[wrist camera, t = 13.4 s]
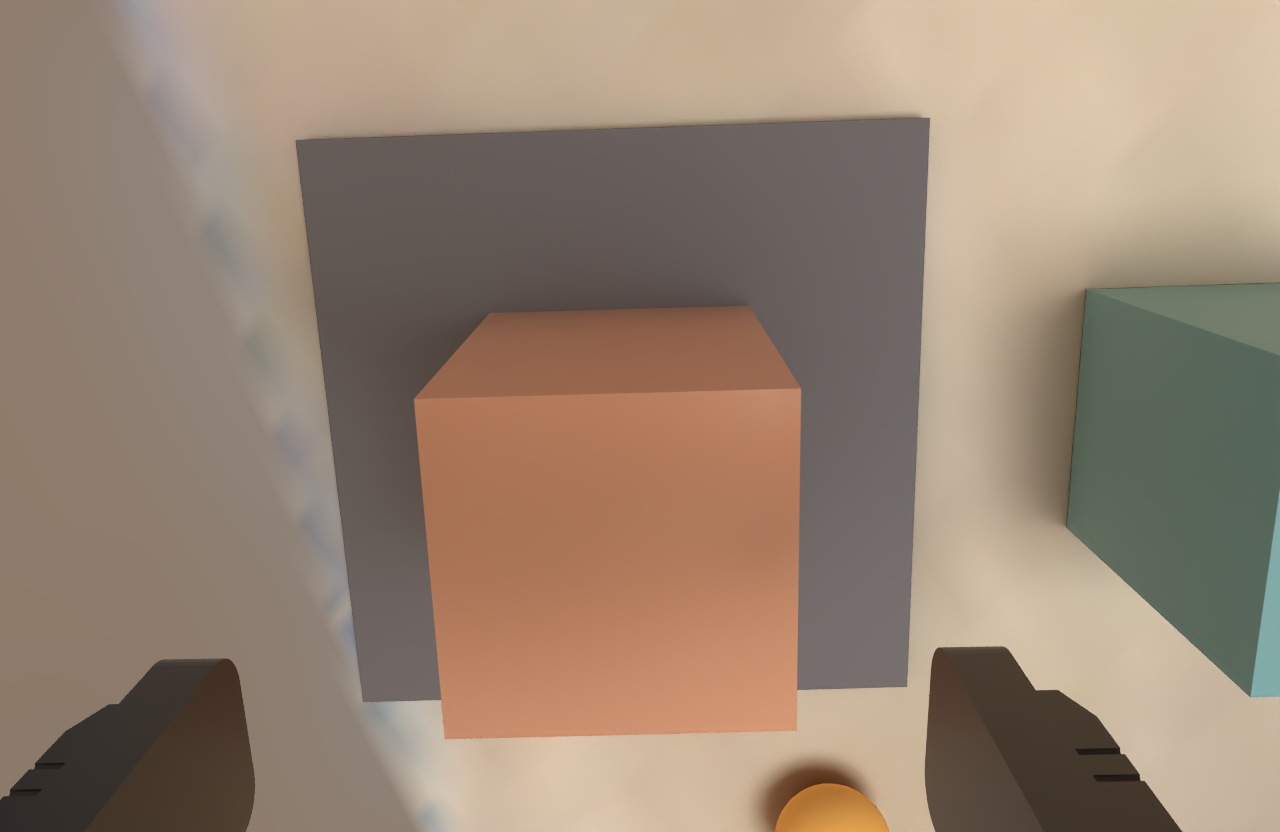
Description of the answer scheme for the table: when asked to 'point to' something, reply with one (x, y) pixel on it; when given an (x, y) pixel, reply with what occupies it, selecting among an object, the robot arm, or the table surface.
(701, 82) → the table surface
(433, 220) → the charcoal mat
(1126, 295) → the seafoam square box
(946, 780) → the robot arm
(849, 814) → the orange ball
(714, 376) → the salmon pink cube
